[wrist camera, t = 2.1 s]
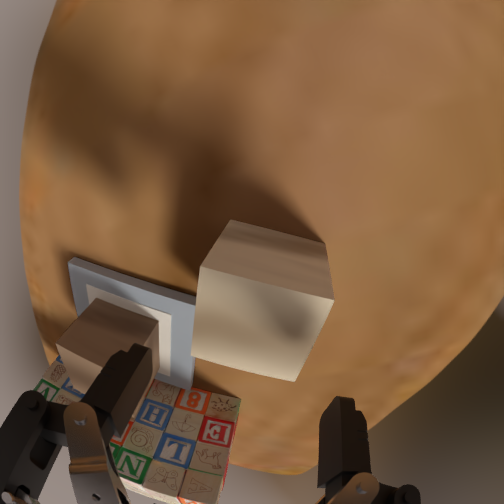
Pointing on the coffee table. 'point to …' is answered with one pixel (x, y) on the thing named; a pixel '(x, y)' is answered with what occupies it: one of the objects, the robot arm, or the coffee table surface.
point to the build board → (143, 313)
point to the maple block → (261, 300)
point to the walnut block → (105, 342)
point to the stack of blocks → (166, 439)
